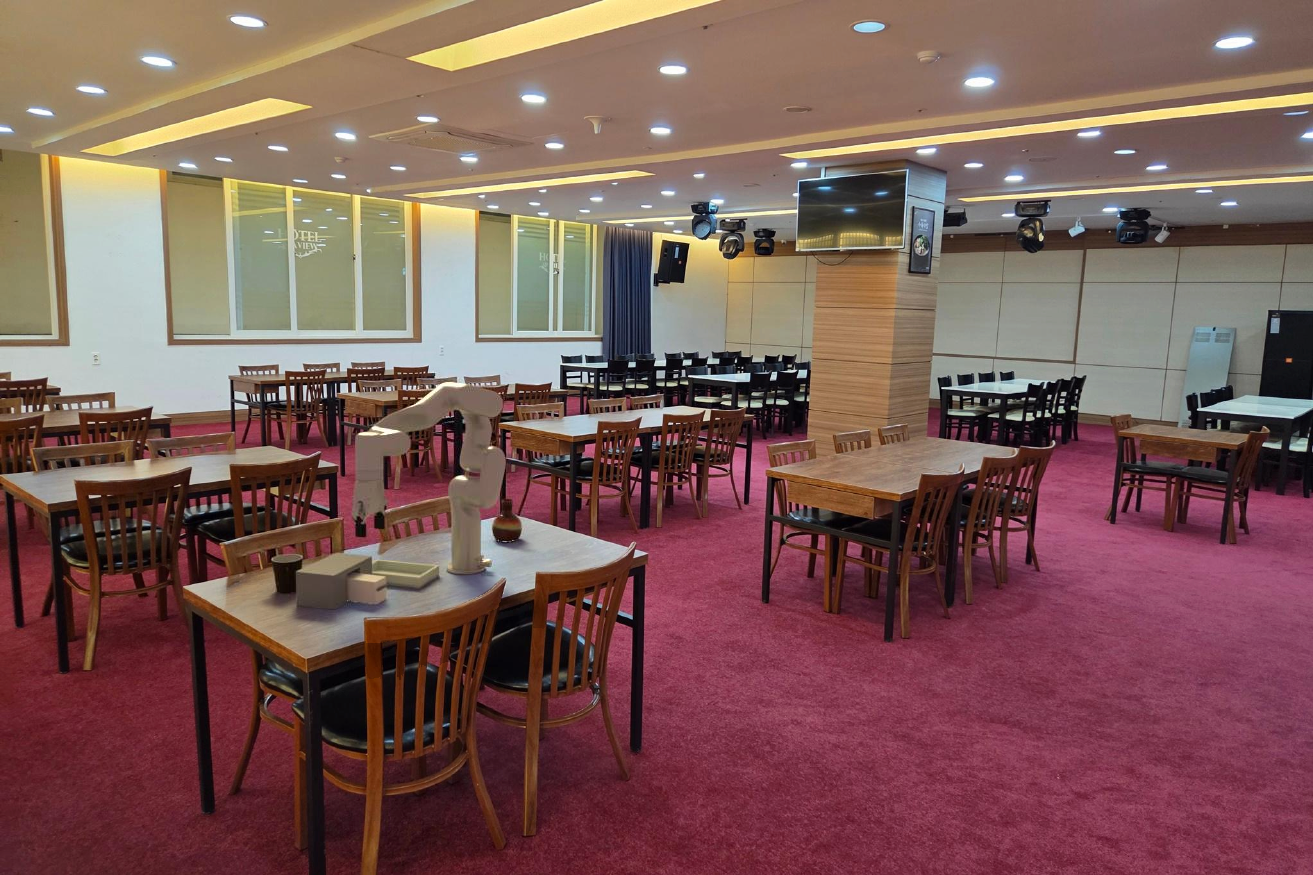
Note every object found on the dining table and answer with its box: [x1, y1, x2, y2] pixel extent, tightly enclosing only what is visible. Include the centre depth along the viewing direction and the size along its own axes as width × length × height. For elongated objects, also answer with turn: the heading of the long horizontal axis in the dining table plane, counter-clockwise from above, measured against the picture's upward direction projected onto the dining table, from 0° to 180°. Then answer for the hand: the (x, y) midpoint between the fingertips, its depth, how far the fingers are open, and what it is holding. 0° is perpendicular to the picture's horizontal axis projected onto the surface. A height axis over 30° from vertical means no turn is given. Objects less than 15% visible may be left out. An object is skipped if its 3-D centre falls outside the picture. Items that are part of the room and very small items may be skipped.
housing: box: [295, 552, 373, 610], centre depth 246 cm, size 12×20×10 cm, turn 168°
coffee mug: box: [271, 553, 304, 595], centre depth 248 cm, size 12×9×10 cm
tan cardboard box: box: [347, 572, 388, 605], centre depth 244 cm, size 15×6×7 cm, turn 75°
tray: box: [372, 558, 440, 590], centre depth 264 cm, size 22×13×4 cm, turn 78°
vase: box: [491, 498, 523, 542], centre depth 312 cm, size 11×11×15 cm
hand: (370, 532), depth 241 cm, fingers open, 9 cm apart
